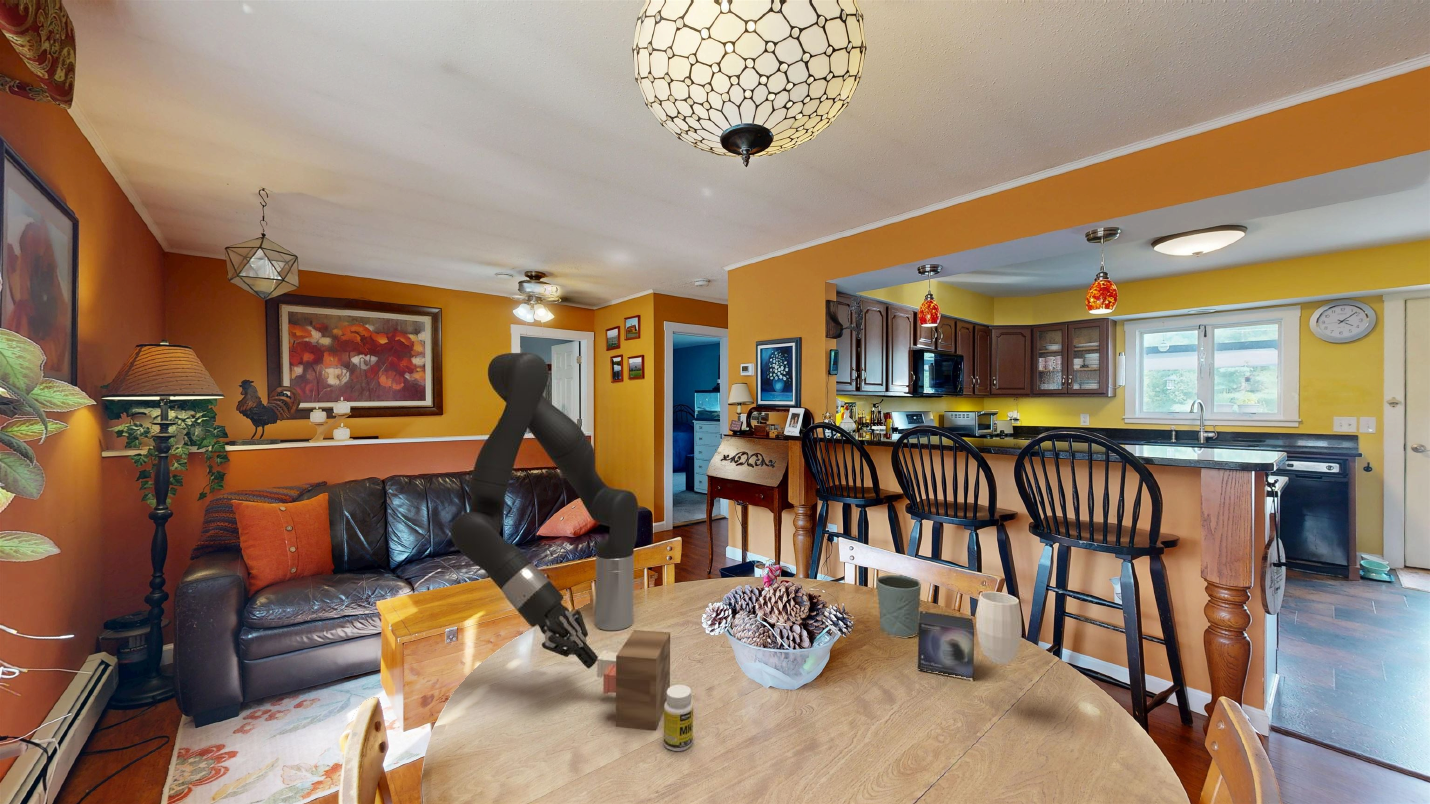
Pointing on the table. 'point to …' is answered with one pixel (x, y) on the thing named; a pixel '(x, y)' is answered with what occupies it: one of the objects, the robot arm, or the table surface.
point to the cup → (999, 626)
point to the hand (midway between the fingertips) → (593, 663)
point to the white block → (605, 662)
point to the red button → (609, 680)
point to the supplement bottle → (678, 718)
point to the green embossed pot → (899, 604)
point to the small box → (946, 644)
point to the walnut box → (642, 679)
